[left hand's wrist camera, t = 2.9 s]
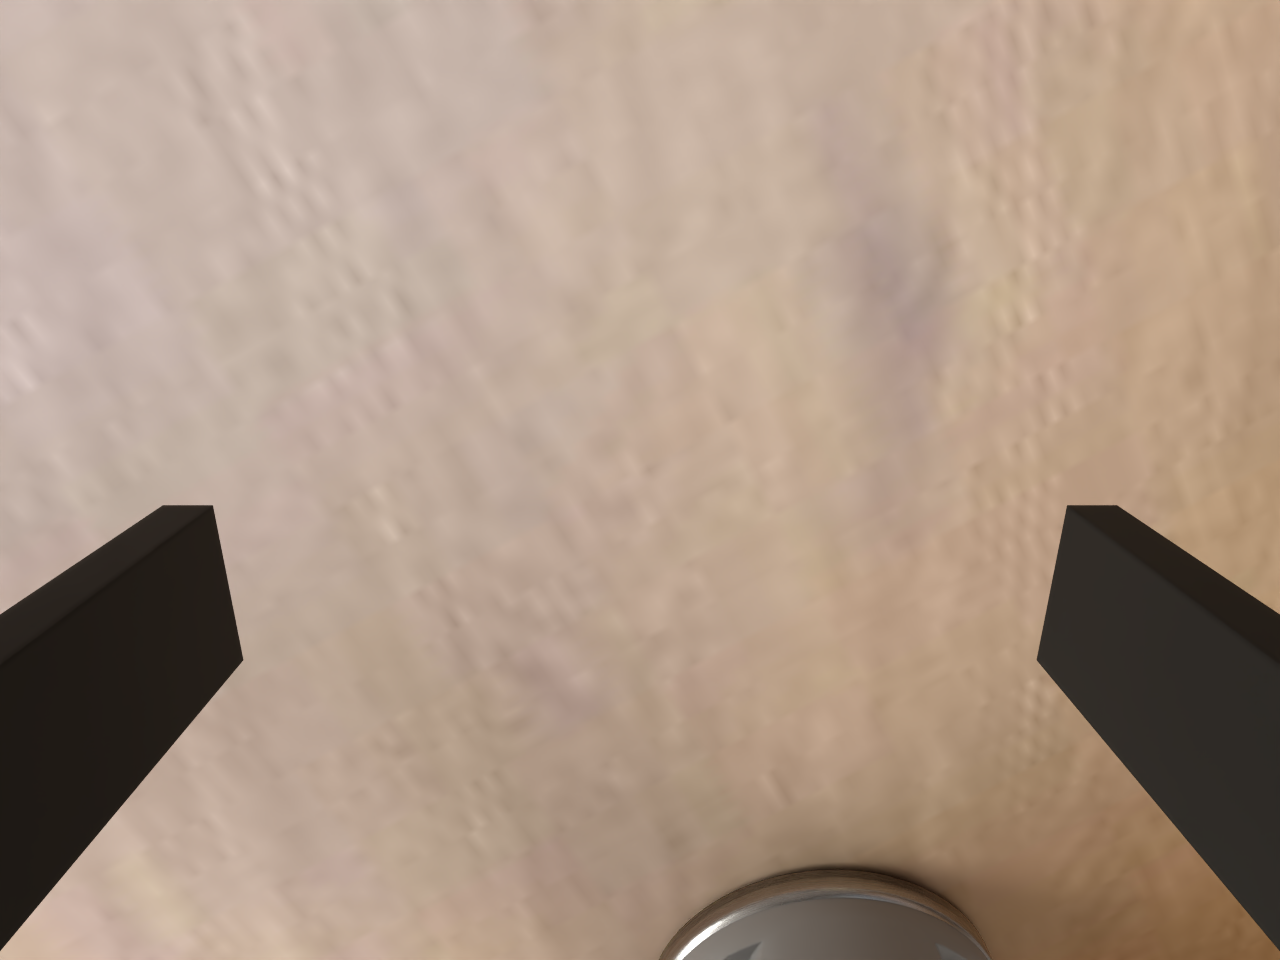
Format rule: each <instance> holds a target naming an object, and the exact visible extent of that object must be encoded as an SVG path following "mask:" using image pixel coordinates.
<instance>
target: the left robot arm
mask: <svg viewBox="0 0 1280 960" xmlns="http://www.w3.org/2000/svg"><path fill="white" fill-rule="evenodd" d="M242 661H243V656H242V651H241V646H240V641H239V636H238V631H237V626H236V621H235V615H234V610H233V605H232V600H231V595H230V590H229V585H228V580H227V575H226V570H225V565H224V560H223V555H222V550H221V544H220V539H219V534H218V529H217V524H216V519H215V514H214V509H213V505H163V506H161V507H160V508H158V509H157V510H155V511H154V512H152V513H151V514H149V515H148V516H146V517H145V518H143V519H142V520H140V521H139V522H138V523H136V524H135V525H133V526H132V527H130V528H129V529H127V530H126V531H124V532H123V533H121V534H120V535H118V536H117V537H115V538H114V539H112V540H111V541H109V542H108V543H106V544H105V545H103V546H102V547H100V548H99V549H97V550H96V551H94V552H93V553H91V554H90V555H88V556H87V557H85V558H84V559H82V560H81V561H79V562H78V563H76V564H75V565H73V566H72V567H70V568H69V569H67V570H66V571H64V572H63V573H61V574H60V575H59V576H57V577H56V578H54V579H53V580H51V581H50V582H48V583H47V584H45V585H44V586H42V587H41V588H39V589H38V590H36V591H35V592H33V593H32V594H30V595H29V596H27V597H26V598H24V599H23V600H21V601H20V602H18V603H17V604H15V605H14V606H12V607H11V608H9V609H8V610H6V611H5V612H3V613H2V614H0V951H1V949H2V948H3V947H4V946H5V945H6V943H7V942H8V941H9V940H10V939H11V937H12V936H13V935H14V934H15V933H16V931H17V930H18V929H19V928H20V927H21V926H22V924H23V923H24V922H25V921H26V920H27V918H28V917H29V916H30V915H31V914H32V912H33V911H34V910H35V909H36V908H37V906H38V905H39V904H40V903H41V902H42V900H43V899H44V898H45V897H46V896H47V894H48V893H49V892H50V891H51V890H52V888H53V887H54V886H55V885H56V884H57V882H58V881H59V880H60V879H61V878H62V876H63V875H64V874H65V873H66V872H67V870H68V869H69V868H70V867H71V866H72V864H73V863H74V862H75V861H76V860H77V858H78V857H79V856H80V855H81V854H82V853H83V851H84V850H85V849H86V848H87V847H88V845H89V844H90V843H91V842H92V841H93V839H94V838H95V837H96V836H97V835H98V833H99V832H100V831H101V830H102V829H103V827H104V826H105V825H106V824H107V823H108V821H109V820H110V819H111V818H112V817H113V815H114V814H115V813H116V812H117V811H118V809H119V808H120V807H121V806H122V805H123V803H124V802H125V801H126V800H127V799H128V797H129V796H130V795H131V794H132V793H133V791H134V790H135V789H136V788H137V787H138V786H139V784H140V783H141V782H142V781H143V780H144V778H145V777H146V776H147V775H148V774H149V772H150V771H151V770H152V769H153V768H154V766H155V765H156V764H157V763H158V762H159V760H160V759H161V758H162V757H163V756H164V754H165V753H166V752H167V751H168V750H169V748H170V747H171V746H172V745H173V744H174V742H175V741H176V740H177V739H178V738H179V736H180V735H181V734H182V733H183V732H184V730H185V729H186V728H187V727H188V726H189V724H190V723H191V722H192V721H193V720H194V718H195V717H196V716H197V715H198V714H199V713H200V711H201V710H202V709H203V708H204V707H205V705H206V704H207V703H208V702H209V701H210V699H211V698H212V697H213V696H214V695H215V693H216V692H217V691H218V690H219V689H220V687H221V686H222V685H223V684H224V683H225V681H226V680H227V679H228V678H229V677H230V675H231V674H232V673H233V672H234V671H235V669H236V668H237V667H238V666H239V665H240V663H241V662H242ZM1037 661H1038V662H1039V663H1040V665H1041V666H1042V667H1043V668H1044V669H1045V671H1046V672H1047V673H1048V674H1049V675H1050V677H1051V678H1052V679H1053V680H1054V681H1055V683H1056V684H1057V685H1058V686H1059V687H1060V689H1061V690H1062V691H1063V692H1064V693H1065V695H1066V696H1067V697H1068V698H1069V699H1070V701H1071V702H1072V703H1073V704H1074V705H1075V707H1076V708H1077V709H1078V710H1079V711H1080V713H1081V714H1082V715H1083V716H1084V717H1085V718H1086V720H1087V721H1088V722H1089V723H1090V724H1091V726H1092V727H1093V728H1094V729H1095V730H1096V732H1097V733H1098V734H1099V735H1100V736H1101V738H1102V739H1103V740H1104V741H1105V742H1106V744H1107V745H1108V746H1109V747H1110V748H1111V750H1112V751H1113V752H1114V753H1115V754H1116V756H1117V757H1118V758H1119V759H1120V760H1121V762H1122V763H1123V764H1124V765H1125V766H1126V768H1127V769H1128V770H1129V771H1130V772H1131V774H1132V775H1133V776H1134V777H1135V778H1136V780H1137V781H1138V782H1139V783H1140V784H1141V786H1142V787H1143V788H1144V789H1145V790H1146V791H1147V793H1148V794H1149V795H1150V796H1151V797H1152V799H1153V800H1154V801H1155V802H1156V803H1157V805H1158V806H1159V807H1160V808H1161V809H1162V811H1163V812H1164V813H1165V814H1166V815H1167V817H1168V818H1169V819H1170V820H1171V821H1172V823H1173V824H1174V825H1175V826H1176V827H1177V829H1178V830H1179V831H1180V832H1181V833H1182V835H1183V836H1184V837H1185V838H1186V839H1187V841H1188V842H1189V843H1190V844H1191V845H1192V847H1193V848H1194V849H1195V850H1196V851H1197V853H1198V854H1199V855H1200V856H1201V857H1202V858H1203V860H1204V861H1205V862H1206V863H1207V864H1208V866H1209V867H1210V868H1211V869H1212V870H1213V872H1214V873H1215V874H1216V875H1217V876H1218V878H1219V879H1220V880H1221V881H1222V882H1223V884H1224V885H1225V886H1226V887H1227V888H1228V890H1229V891H1230V892H1231V893H1232V894H1233V896H1234V897H1235V898H1236V899H1237V900H1238V902H1239V903H1240V904H1241V905H1242V906H1243V908H1244V909H1245V910H1246V911H1247V912H1248V914H1249V915H1250V916H1251V917H1252V918H1253V920H1254V921H1255V922H1256V923H1257V924H1258V926H1259V927H1260V928H1261V929H1262V930H1263V931H1264V933H1265V934H1266V935H1267V936H1268V937H1269V939H1270V940H1271V941H1272V942H1273V943H1274V945H1275V946H1276V947H1277V948H1278V949H1279V951H1280V614H1278V613H1277V612H1275V611H1274V610H1272V609H1271V608H1269V607H1268V606H1266V605H1265V604H1263V603H1262V602H1260V601H1259V600H1257V599H1256V598H1254V597H1253V596H1251V595H1250V594H1248V593H1247V592H1245V591H1244V590H1242V589H1241V588H1239V587H1238V586H1236V585H1235V584H1233V583H1232V582H1230V581H1229V580H1227V579H1226V578H1224V577H1223V576H1221V575H1220V574H1219V573H1217V572H1216V571H1214V570H1213V569H1211V568H1210V567H1208V566H1207V565H1205V564H1204V563H1202V562H1201V561H1199V560H1198V559H1196V558H1195V557H1193V556H1192V555H1190V554H1189V553H1187V552H1186V551H1184V550H1183V549H1181V548H1180V547H1178V546H1177V545H1175V544H1174V543H1172V542H1171V541H1169V540H1168V539H1166V538H1165V537H1163V536H1162V535H1160V534H1159V533H1157V532H1156V531H1154V530H1153V529H1151V528H1150V527H1148V526H1147V525H1145V524H1144V523H1142V522H1141V521H1140V520H1138V519H1137V518H1135V517H1134V516H1132V515H1131V514H1129V513H1128V512H1126V511H1125V510H1123V509H1122V508H1120V507H1119V506H1117V505H1067V509H1066V514H1065V519H1064V524H1063V529H1062V534H1061V539H1060V544H1059V550H1058V555H1057V560H1056V565H1055V570H1054V575H1053V580H1052V585H1051V590H1050V595H1049V600H1048V605H1047V610H1046V615H1045V621H1044V626H1043V631H1042V636H1041V641H1040V646H1039V651H1038V656H1037ZM659 960H992V958H991V956H990V954H989V951H988V949H987V947H986V945H985V943H984V941H983V939H982V938H981V936H980V934H979V933H978V931H977V930H976V928H975V927H974V926H973V925H972V923H971V922H970V921H969V920H968V919H967V918H966V917H965V916H964V915H963V914H962V913H961V912H960V911H959V910H958V909H956V908H955V907H954V906H953V905H951V904H950V903H949V902H947V901H946V900H944V899H943V898H941V897H939V896H938V895H936V894H935V893H933V892H931V891H929V890H927V889H925V888H923V887H920V886H918V885H915V884H913V883H910V882H908V881H905V880H901V879H898V878H895V877H891V876H887V875H882V874H877V873H872V872H864V871H856V870H814V871H805V872H797V873H792V874H786V875H781V876H777V877H773V878H769V879H766V880H762V881H760V882H757V883H754V884H751V885H748V886H746V887H743V888H741V889H739V890H736V891H734V892H732V893H730V894H728V895H726V896H724V897H722V898H720V899H719V900H717V901H715V902H714V903H712V904H711V905H709V906H708V907H706V908H704V909H703V910H702V911H700V912H699V913H698V914H697V915H695V916H694V917H693V918H692V919H690V920H689V921H688V922H687V923H686V924H685V925H684V926H683V927H682V928H681V929H680V930H679V931H678V932H677V934H676V935H675V936H674V937H673V938H672V939H671V941H670V942H669V944H668V945H667V947H666V948H665V950H664V951H663V953H662V955H661V957H660V959H659Z"/></svg>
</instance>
